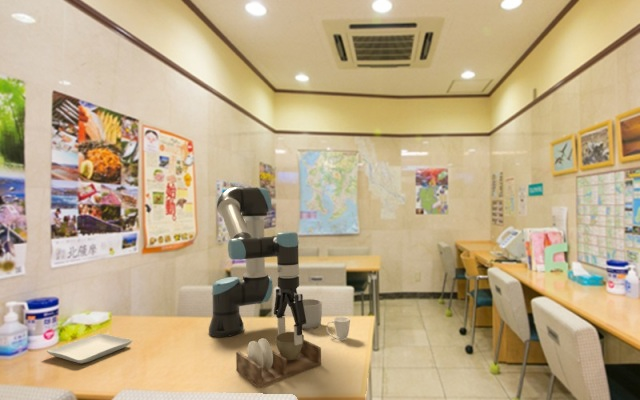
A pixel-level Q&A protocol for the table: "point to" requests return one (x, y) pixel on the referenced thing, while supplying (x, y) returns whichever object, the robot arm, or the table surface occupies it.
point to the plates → (261, 353)
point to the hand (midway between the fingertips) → (289, 339)
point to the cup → (341, 327)
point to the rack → (279, 365)
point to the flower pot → (288, 345)
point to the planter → (312, 313)
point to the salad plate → (90, 348)
